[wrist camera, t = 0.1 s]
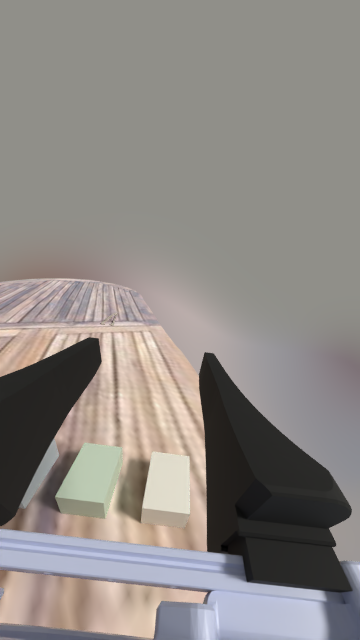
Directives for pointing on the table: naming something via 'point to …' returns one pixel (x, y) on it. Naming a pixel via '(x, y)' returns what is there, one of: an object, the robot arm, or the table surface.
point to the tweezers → (108, 319)
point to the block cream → (167, 491)
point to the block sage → (90, 481)
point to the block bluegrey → (41, 473)
